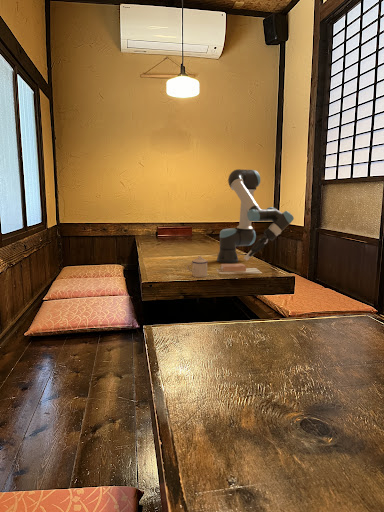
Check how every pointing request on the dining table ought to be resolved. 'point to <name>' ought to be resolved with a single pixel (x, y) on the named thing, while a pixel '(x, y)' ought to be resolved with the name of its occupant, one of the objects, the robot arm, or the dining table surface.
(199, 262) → the teacup with lid
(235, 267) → the tile
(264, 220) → the robot arm
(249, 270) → the board
